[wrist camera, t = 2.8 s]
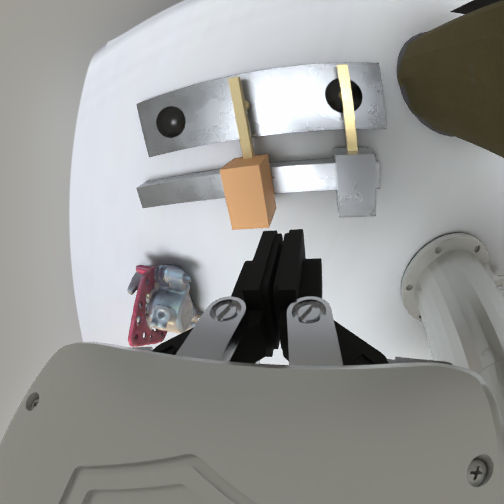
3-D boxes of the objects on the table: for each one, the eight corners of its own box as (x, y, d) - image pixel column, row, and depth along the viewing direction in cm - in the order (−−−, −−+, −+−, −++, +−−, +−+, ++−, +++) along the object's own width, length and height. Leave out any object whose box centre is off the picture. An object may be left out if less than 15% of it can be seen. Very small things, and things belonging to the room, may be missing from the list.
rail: (375, 157, 22) (379, 162, 21) (375, 181, 23) (380, 188, 22) (146, 181, 29) (136, 187, 27) (151, 201, 30) (142, 208, 28)
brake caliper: (111, 253, 33) (113, 316, 23) (190, 235, 37) (219, 289, 27) (132, 315, 39) (144, 378, 30) (198, 298, 43) (226, 355, 33)
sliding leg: (256, 75, 19) (241, 70, 15) (277, 204, 25) (269, 227, 21) (222, 82, 20) (201, 80, 16) (246, 206, 26) (232, 229, 22)
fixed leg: (357, 67, 17) (365, 62, 14) (368, 200, 23) (375, 216, 20) (321, 68, 18) (323, 62, 15) (336, 201, 24) (339, 217, 21)
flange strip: (376, 64, 18) (378, 62, 17) (383, 127, 21) (386, 128, 20) (141, 103, 24) (135, 104, 23) (154, 155, 27) (148, 157, 26)
